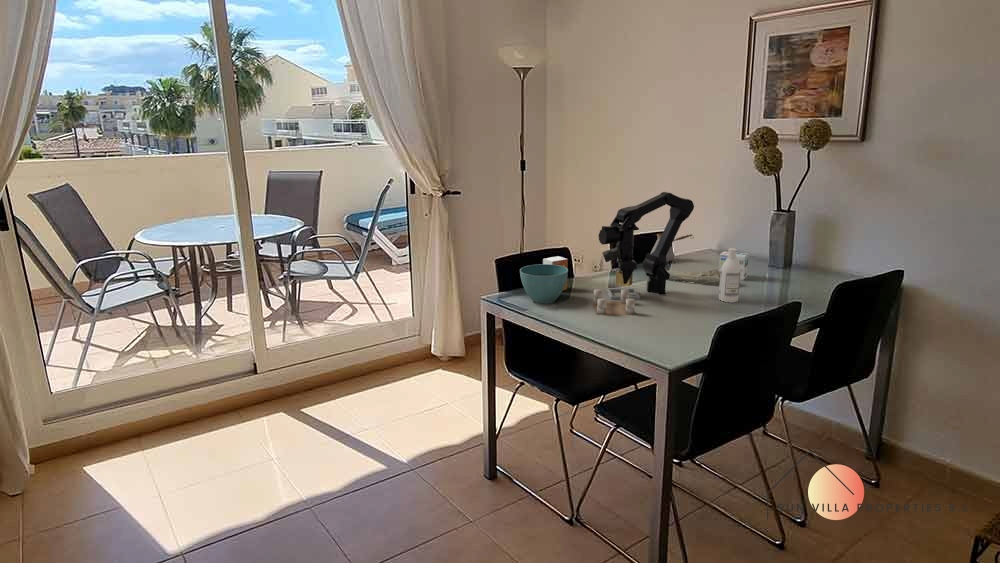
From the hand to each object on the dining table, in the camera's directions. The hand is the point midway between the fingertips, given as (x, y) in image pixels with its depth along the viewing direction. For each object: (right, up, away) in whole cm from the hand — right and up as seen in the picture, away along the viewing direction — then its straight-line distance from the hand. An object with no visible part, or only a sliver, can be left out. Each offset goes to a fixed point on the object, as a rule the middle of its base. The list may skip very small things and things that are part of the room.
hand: (624, 281), depth 240 cm
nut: (0, -1, 0) cm, 1 cm away
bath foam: (+39, -7, -4) cm, 40 cm away
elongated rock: (+35, 0, +24) cm, 42 cm away
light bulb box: (+52, +1, +27) cm, 59 cm away
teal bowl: (-31, -7, -1) cm, 32 cm away
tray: (0, -6, +2) cm, 6 cm away
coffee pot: (+33, +9, +55) cm, 65 cm away
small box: (-26, -3, +13) cm, 29 cm away
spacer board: (-7, -10, -14) cm, 18 cm away
